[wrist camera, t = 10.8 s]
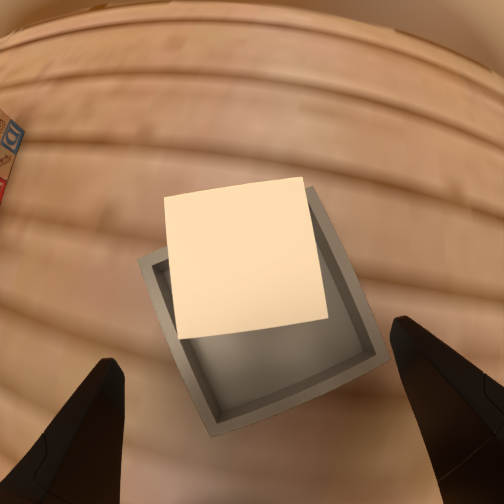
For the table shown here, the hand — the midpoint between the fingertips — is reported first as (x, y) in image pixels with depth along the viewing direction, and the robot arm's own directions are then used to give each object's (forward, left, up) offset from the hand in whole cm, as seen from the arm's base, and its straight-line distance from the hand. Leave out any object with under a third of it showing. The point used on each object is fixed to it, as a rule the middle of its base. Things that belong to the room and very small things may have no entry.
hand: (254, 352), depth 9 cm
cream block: (+1, +3, -13) cm, 13 cm away
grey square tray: (+1, +1, -14) cm, 14 cm away
